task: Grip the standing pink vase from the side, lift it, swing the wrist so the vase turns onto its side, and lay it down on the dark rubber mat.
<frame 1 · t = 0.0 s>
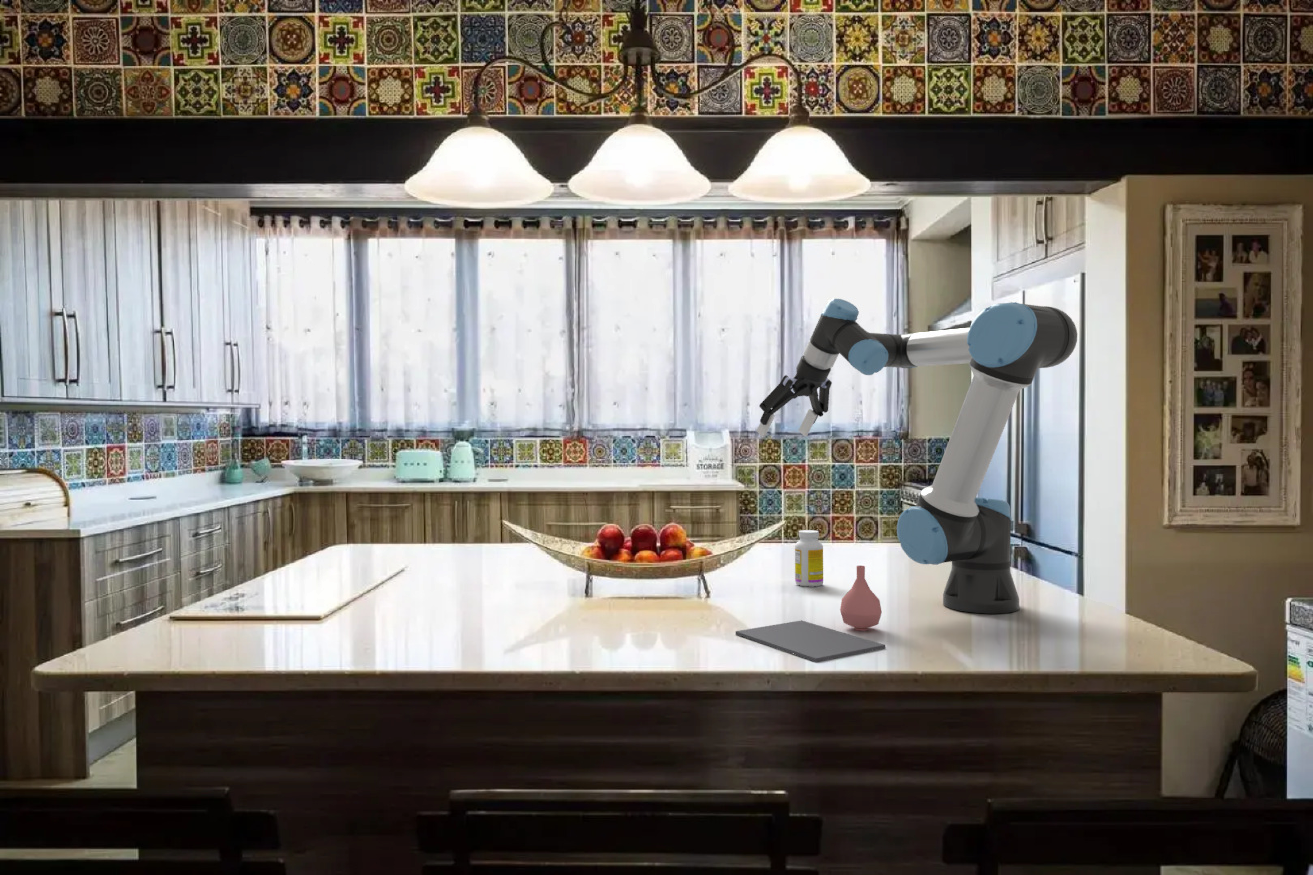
hand: (781, 434, 220), 36 cm above the table, tool tilted 35°, fingers open, 13 cm apart
pink vase: (860, 630, 169), on the table
mat: (808, 641, 161), on the table
supplement bottle: (809, 585, 214), on the table
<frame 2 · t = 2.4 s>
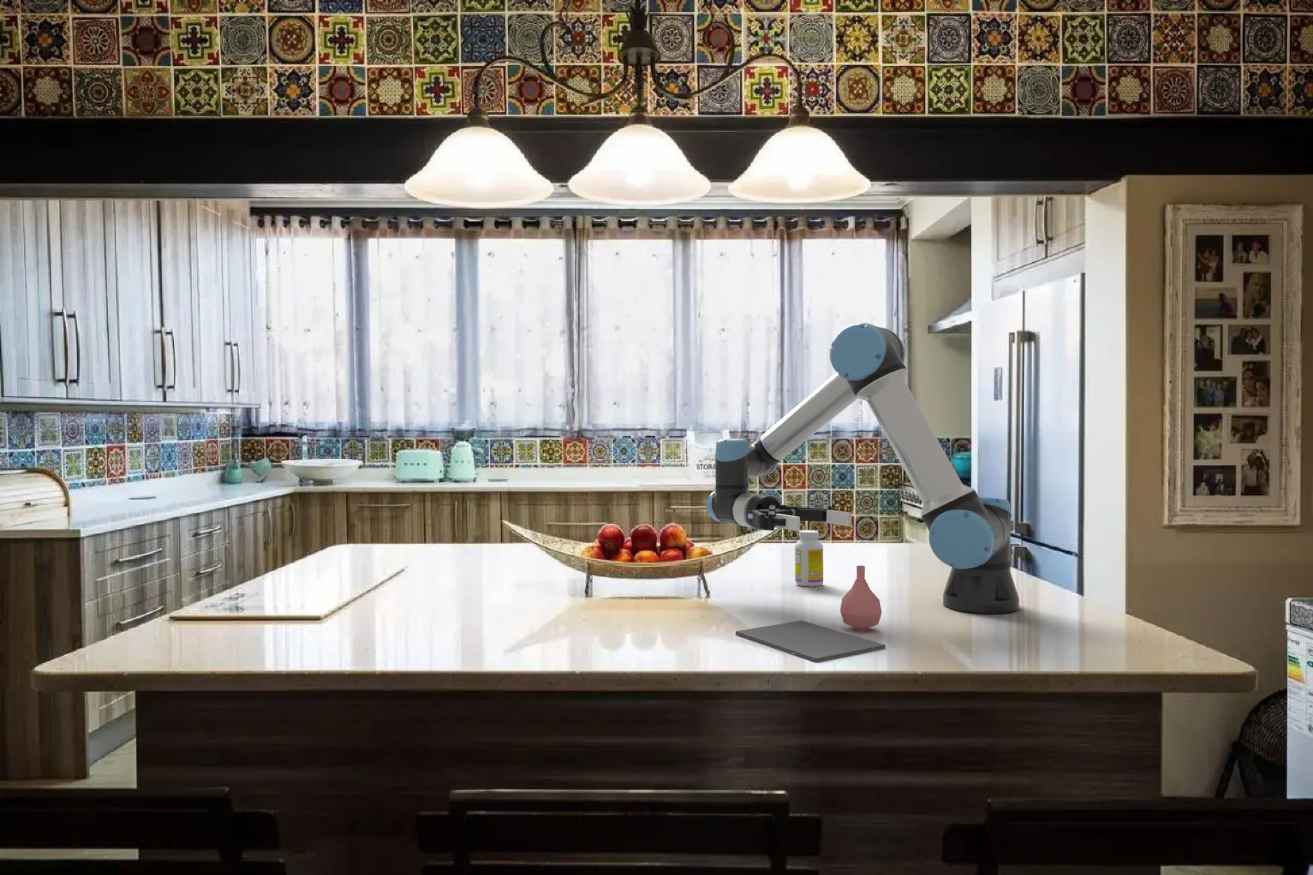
hand: (824, 521, 177), 19 cm above the table, tool horizontal, fingers open, 13 cm apart
nothing on the table moved.
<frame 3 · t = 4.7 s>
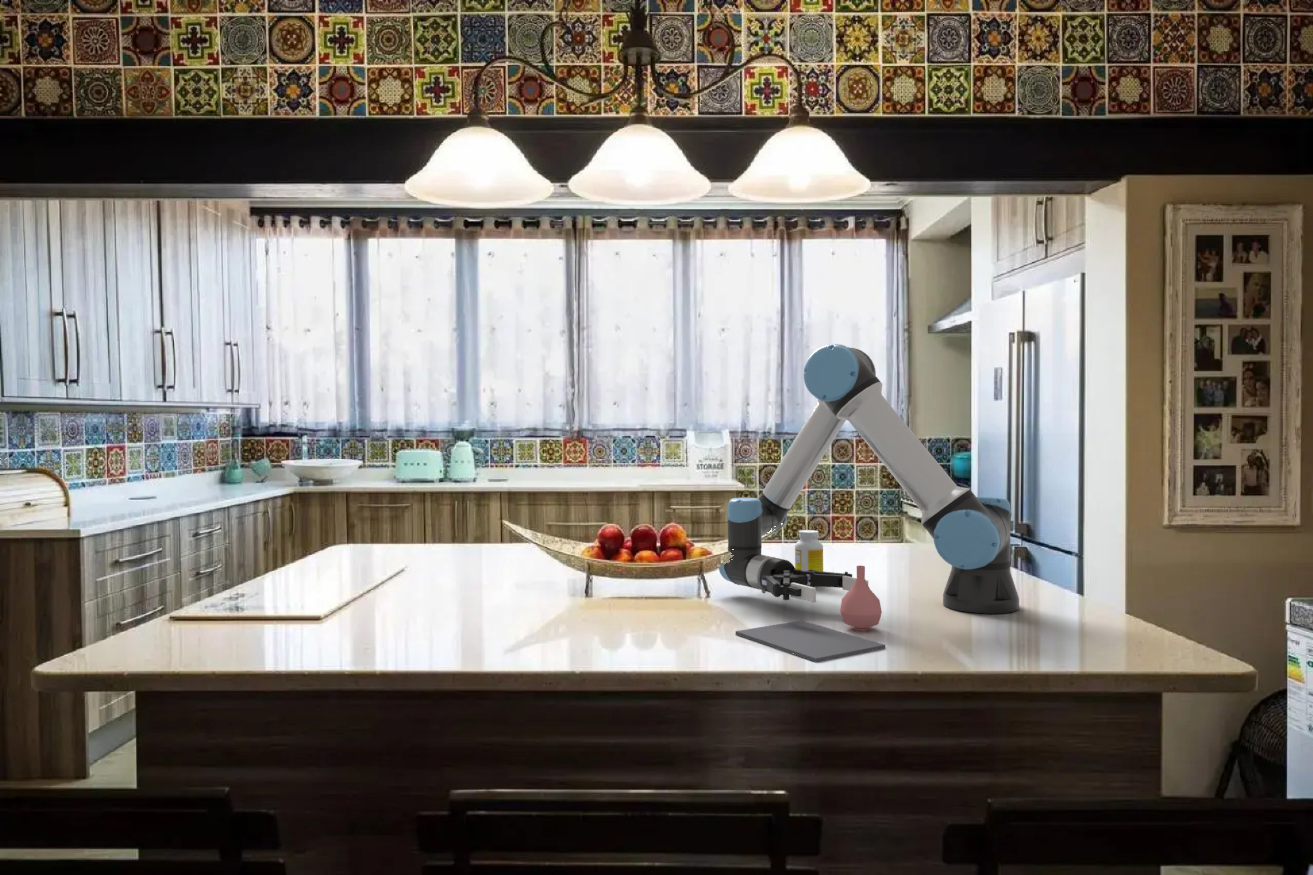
hand: (841, 591, 173), 6 cm above the table, tool horizontal, fingers open, 13 cm apart
nothing on the table moved.
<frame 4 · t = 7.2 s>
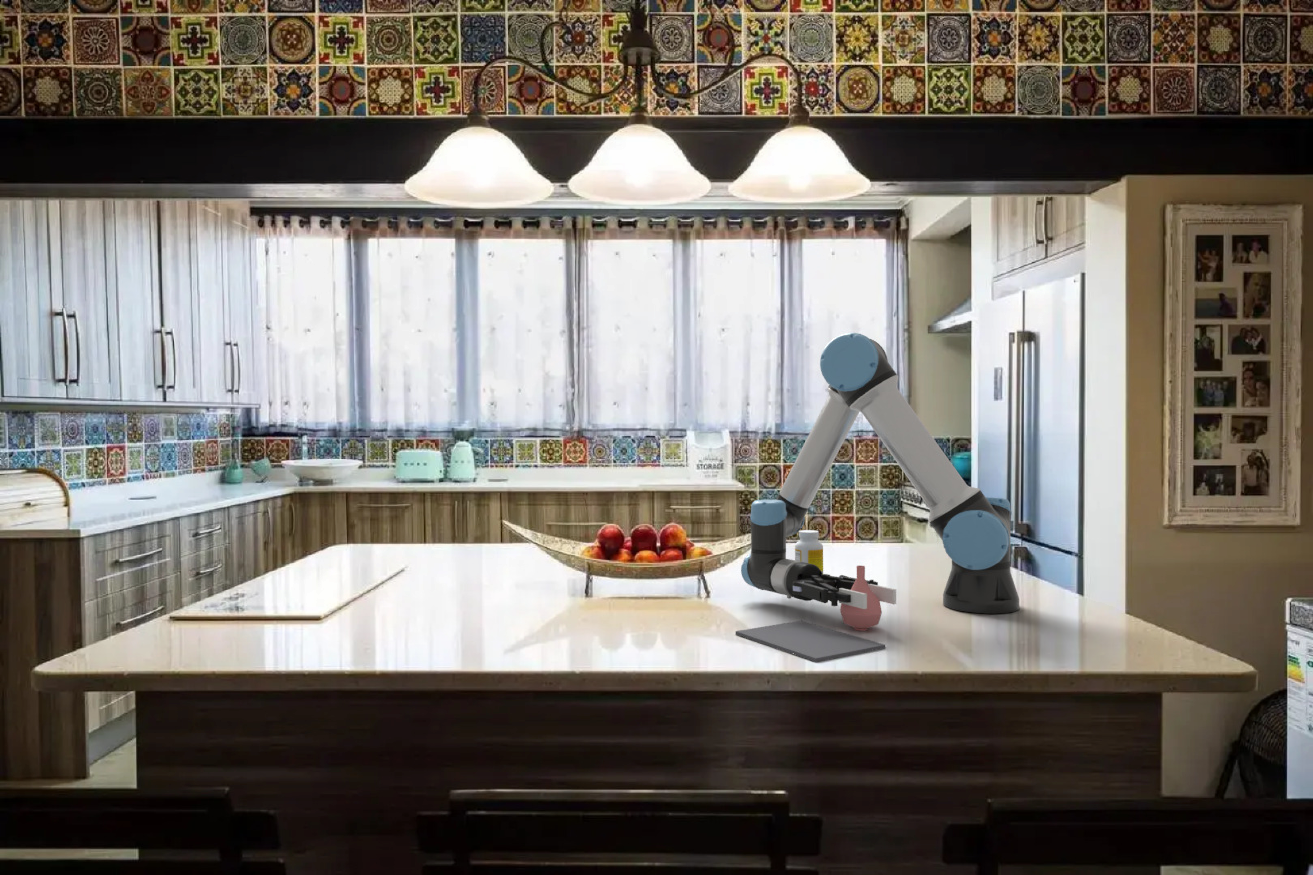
hand: (880, 599, 165), 7 cm above the table, tool horizontal, fingers closed on pink vase, 7 cm apart
pink vase: (860, 630, 169), on the table, touching gripper
everything else where it was.
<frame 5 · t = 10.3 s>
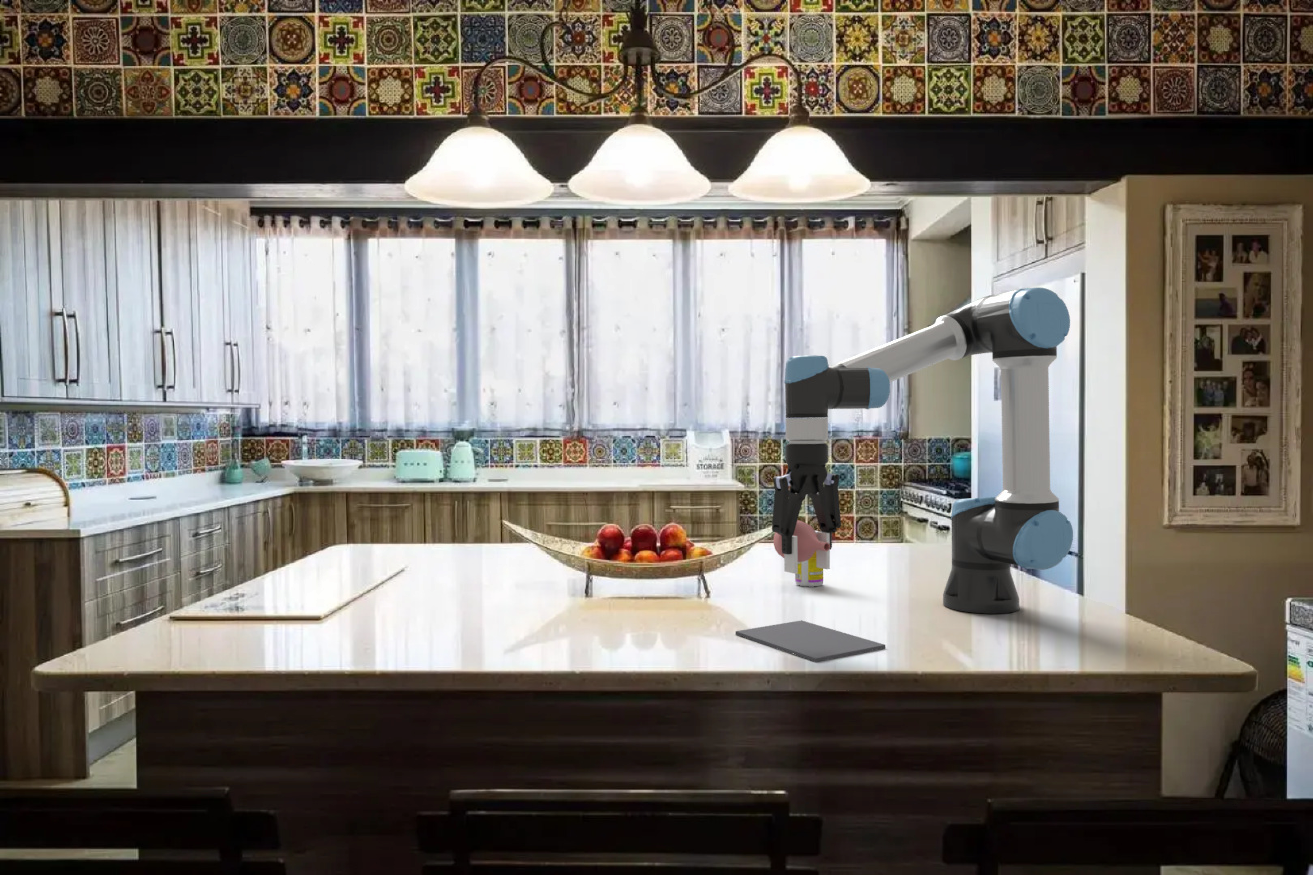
hand: (807, 569, 160), 13 cm above the table, tool pointing down, fingers closed on pink vase, 7 cm apart
pink vase: (782, 538, 166), point 18 cm above the table, touching gripper
everything else where it was.
when the fingers open (2 cm above the table, at t = 13.1 s): pink vase drops 2 cm, resting on mat.
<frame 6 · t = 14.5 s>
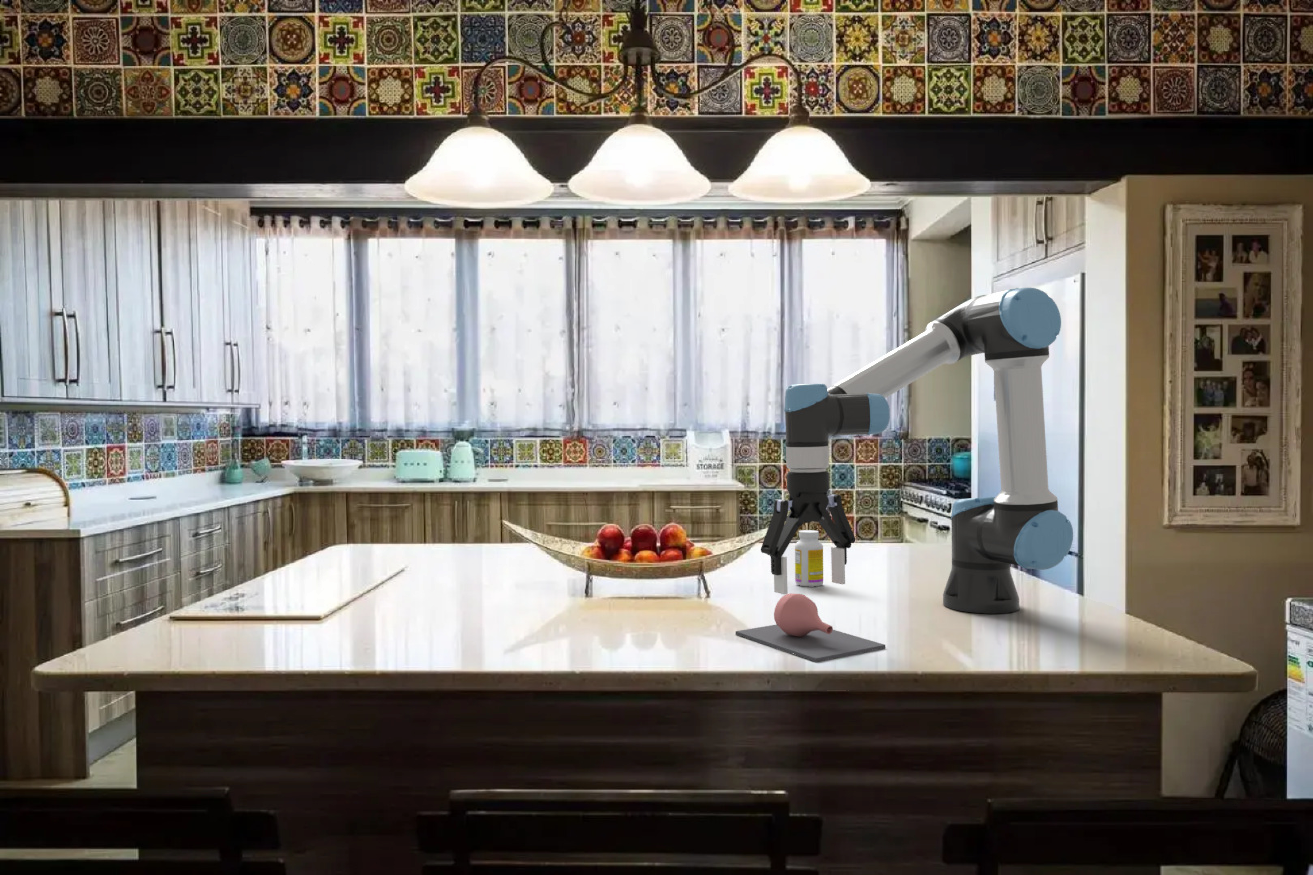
hand: (810, 588, 161), 10 cm above the table, tool pointing down, fingers open, 13 cm apart
pink vase: (781, 608, 165), point 5 cm above the table, touching mat
everything else where it was.
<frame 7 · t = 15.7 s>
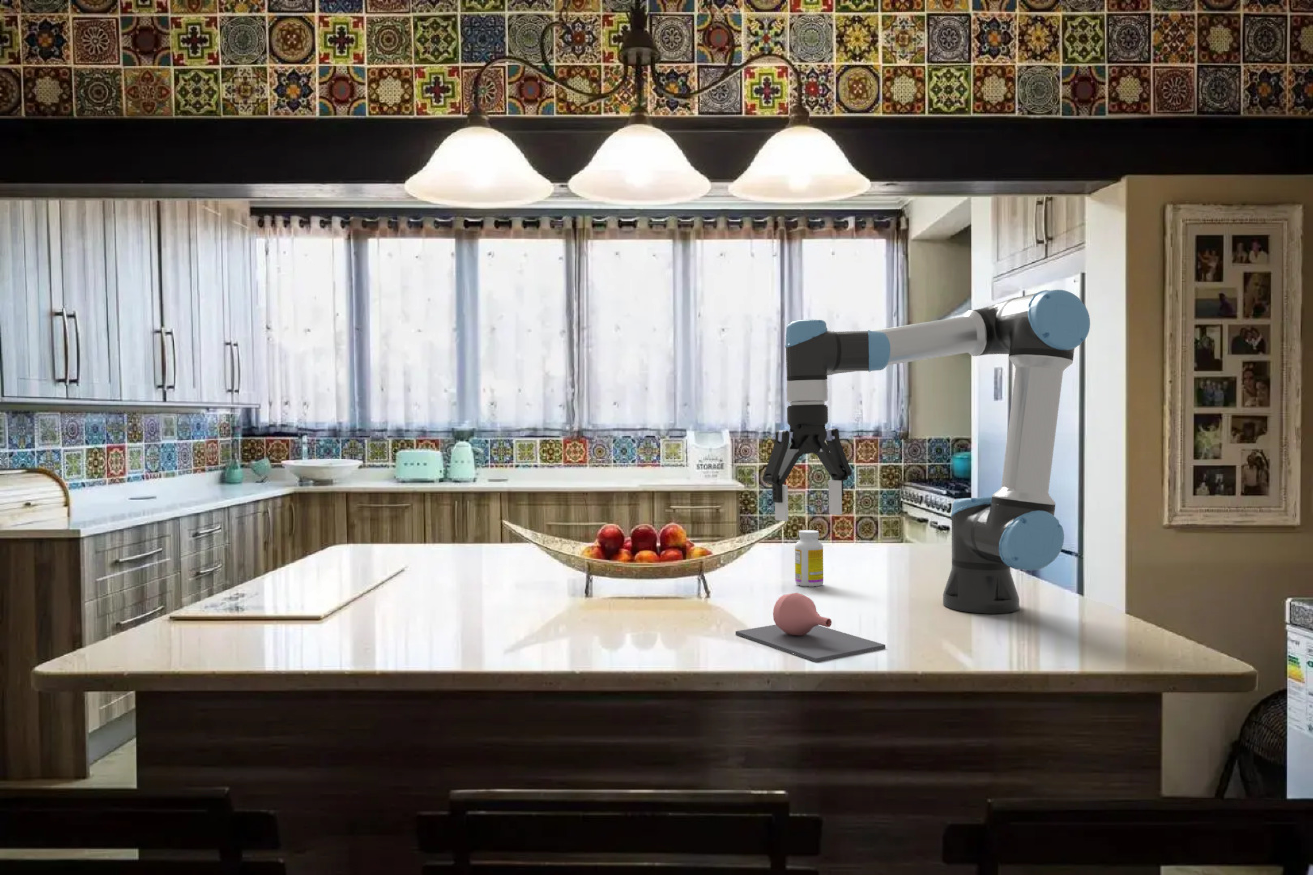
hand: (809, 517, 167), 21 cm above the table, tool pointing down, fingers open, 13 cm apart
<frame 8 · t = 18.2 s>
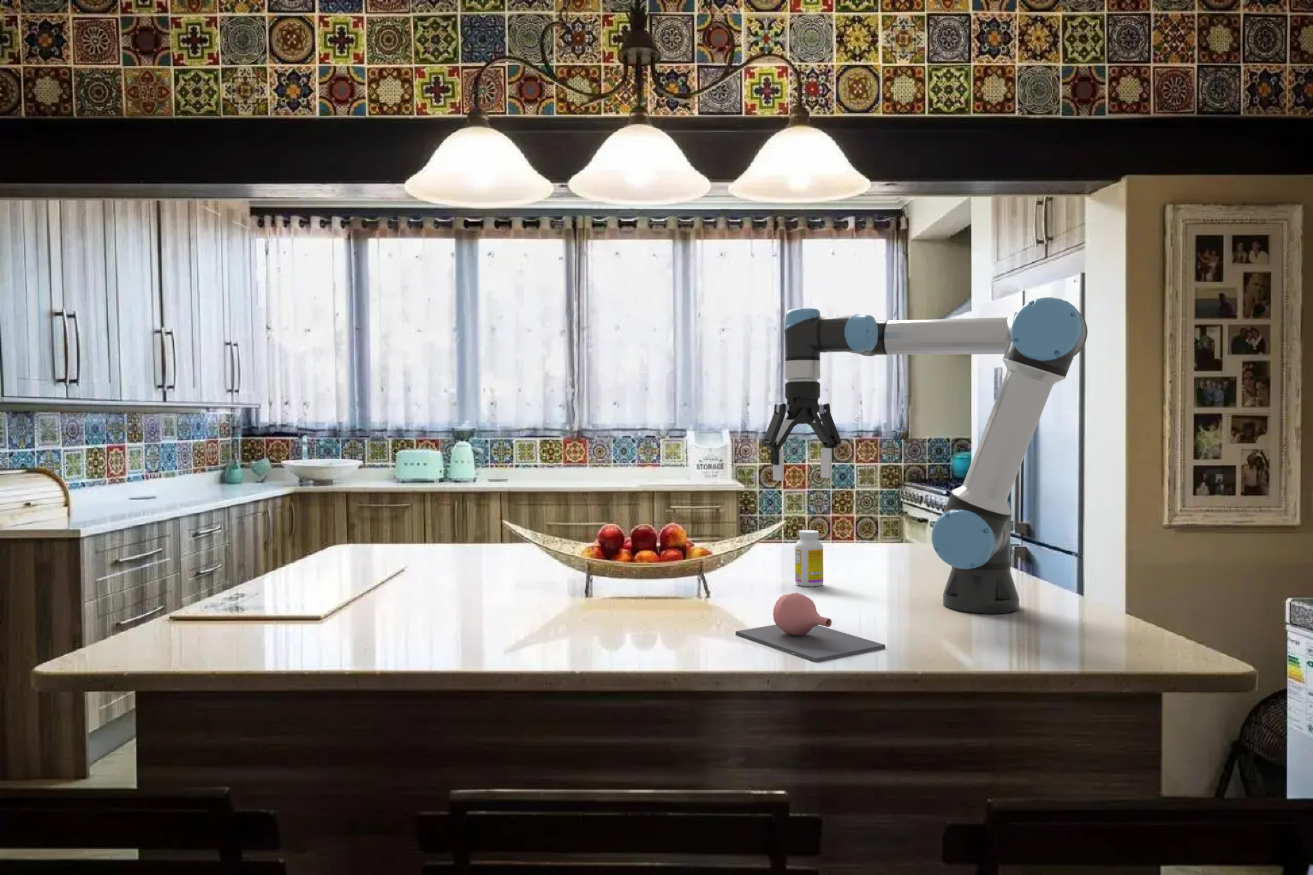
hand: (802, 479, 194), 27 cm above the table, tool pointing down, fingers open, 13 cm apart
nothing on the table moved.
at the end: pink vase tilted 90°; pink vase inside the target area on the mat (6.8 cm from its centre), point 4.4 cm above the mat's base; the gripper is holding nothing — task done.
